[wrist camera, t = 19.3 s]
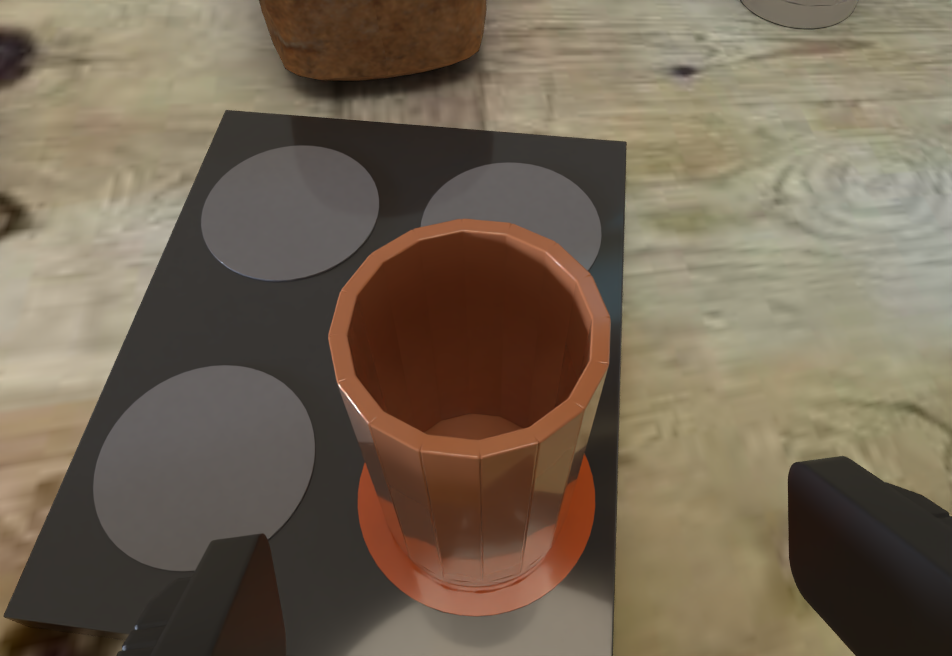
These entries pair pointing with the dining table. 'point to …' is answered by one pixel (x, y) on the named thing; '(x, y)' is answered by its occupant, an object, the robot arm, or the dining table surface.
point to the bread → (372, 36)
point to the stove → (320, 398)
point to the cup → (802, 11)
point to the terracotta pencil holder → (472, 390)
